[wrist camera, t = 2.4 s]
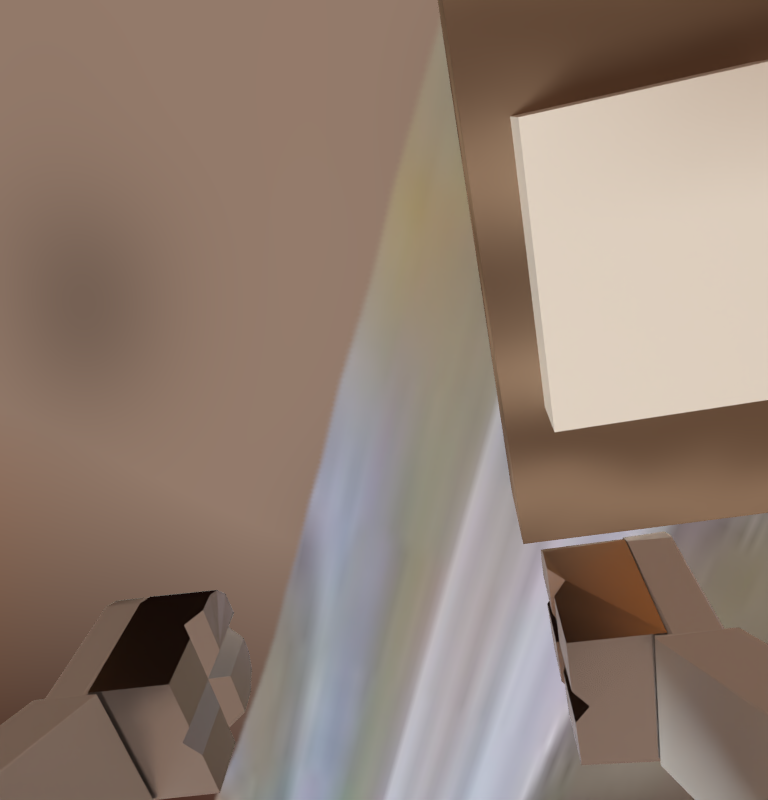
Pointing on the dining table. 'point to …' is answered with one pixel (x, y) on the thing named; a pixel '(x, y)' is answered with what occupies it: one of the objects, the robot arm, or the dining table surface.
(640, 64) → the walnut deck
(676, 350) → the cream flat block
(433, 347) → the dining table surface
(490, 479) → the dining table surface
